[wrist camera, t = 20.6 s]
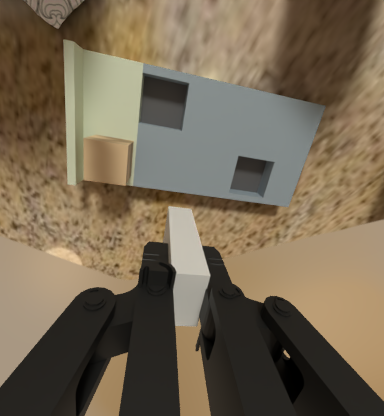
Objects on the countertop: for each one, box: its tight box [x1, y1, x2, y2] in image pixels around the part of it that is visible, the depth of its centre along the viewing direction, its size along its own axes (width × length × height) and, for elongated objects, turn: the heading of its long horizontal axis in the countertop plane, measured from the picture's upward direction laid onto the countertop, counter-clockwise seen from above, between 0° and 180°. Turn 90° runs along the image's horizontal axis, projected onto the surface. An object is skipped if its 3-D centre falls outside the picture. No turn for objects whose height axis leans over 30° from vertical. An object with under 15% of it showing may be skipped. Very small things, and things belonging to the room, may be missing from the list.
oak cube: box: [83, 135, 134, 186], centre depth 29 cm, size 5×5×5 cm
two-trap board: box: [63, 39, 326, 207], centre depth 32 cm, size 34×16×6 cm, turn 80°
